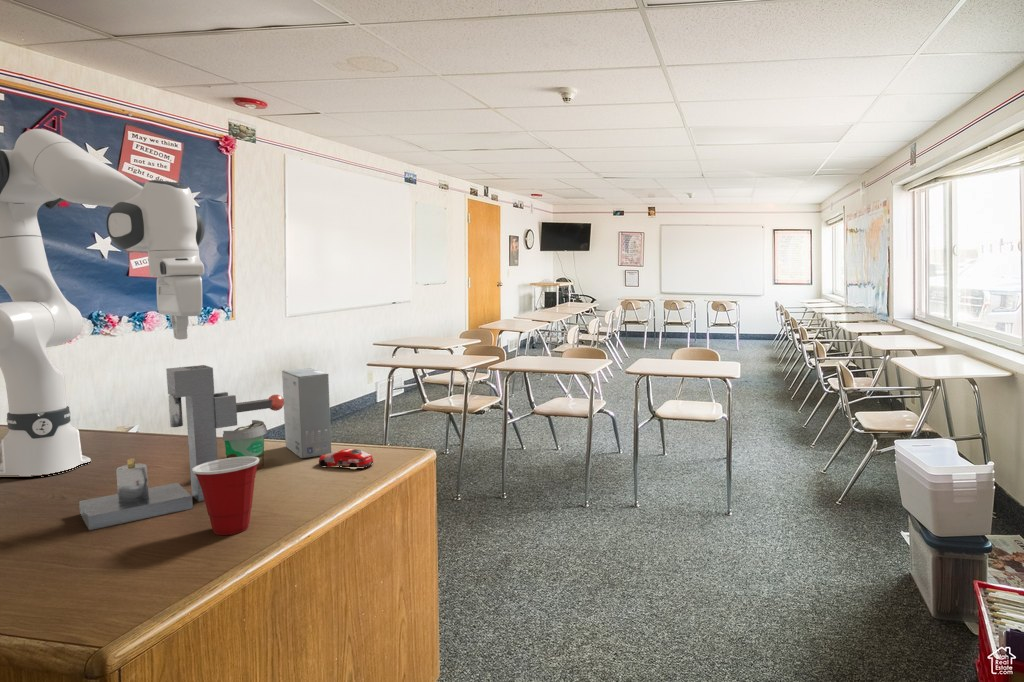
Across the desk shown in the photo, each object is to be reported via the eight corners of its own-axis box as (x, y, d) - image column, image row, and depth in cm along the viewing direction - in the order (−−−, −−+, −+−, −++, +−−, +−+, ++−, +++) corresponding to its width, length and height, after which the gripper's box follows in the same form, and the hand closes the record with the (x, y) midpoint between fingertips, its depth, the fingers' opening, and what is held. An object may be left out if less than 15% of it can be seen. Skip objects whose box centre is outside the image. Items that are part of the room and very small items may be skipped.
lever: (212, 417, 141) (211, 401, 141) (281, 408, 150) (280, 392, 150) (217, 420, 139) (216, 403, 138) (287, 410, 147) (286, 394, 147)
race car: (313, 468, 160) (313, 450, 160) (328, 461, 165) (327, 445, 165) (363, 472, 156) (362, 454, 155) (376, 466, 161) (375, 448, 160)
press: (80, 514, 131) (68, 376, 128) (229, 484, 147) (221, 362, 145) (89, 530, 122) (77, 383, 120) (246, 497, 139) (238, 367, 136)
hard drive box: (332, 454, 170) (329, 373, 168) (301, 459, 166) (297, 376, 164) (314, 442, 183) (310, 367, 181) (284, 446, 179) (280, 369, 177)
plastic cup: (235, 514, 129) (232, 450, 128) (276, 524, 123) (272, 457, 122) (182, 534, 120) (177, 465, 118) (223, 545, 114) (219, 473, 113)
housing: (116, 498, 132) (113, 459, 131) (145, 492, 135) (142, 454, 134) (121, 504, 128) (118, 464, 127) (151, 498, 131) (148, 459, 130)
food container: (249, 477, 153) (247, 432, 152) (224, 475, 154) (221, 431, 153) (279, 461, 165) (277, 420, 164) (255, 460, 166) (253, 419, 165)
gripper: (145, 268, 139) (151, 337, 141) (168, 265, 123) (175, 343, 125) (179, 267, 143) (185, 335, 144) (206, 264, 127) (212, 340, 128)
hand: (180, 339), depth 134 cm, fingers closed
